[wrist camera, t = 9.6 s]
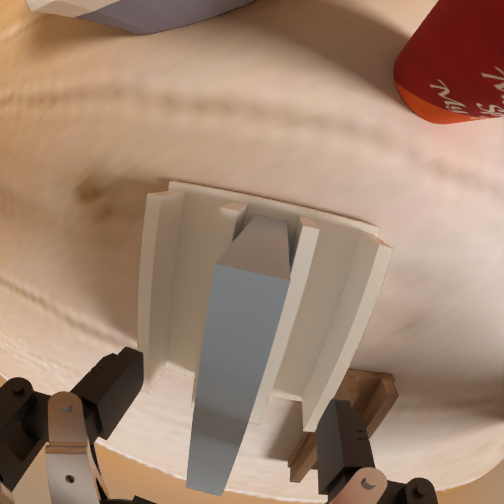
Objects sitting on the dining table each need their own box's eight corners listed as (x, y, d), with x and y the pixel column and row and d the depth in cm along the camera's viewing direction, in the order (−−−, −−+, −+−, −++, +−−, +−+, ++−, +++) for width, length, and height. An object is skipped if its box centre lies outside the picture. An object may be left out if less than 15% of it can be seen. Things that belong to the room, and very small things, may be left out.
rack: (374, 224, 17) (403, 240, 12) (313, 393, 20) (317, 436, 16) (176, 180, 17) (141, 182, 13) (158, 357, 21) (134, 392, 17)
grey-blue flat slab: (286, 221, 16) (290, 280, 7) (246, 381, 19) (221, 496, 10) (256, 214, 16) (214, 263, 7) (223, 375, 19) (186, 487, 10)
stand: (392, 374, 19) (402, 395, 17) (331, 464, 23) (333, 484, 20) (337, 367, 20) (343, 391, 17) (287, 461, 23) (287, 481, 21)
